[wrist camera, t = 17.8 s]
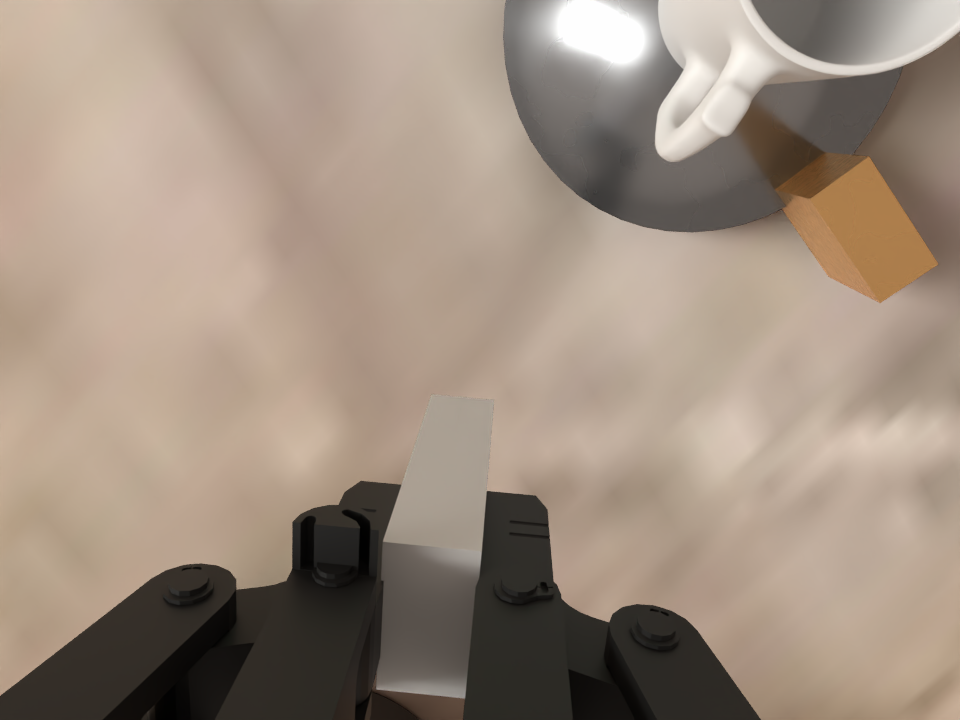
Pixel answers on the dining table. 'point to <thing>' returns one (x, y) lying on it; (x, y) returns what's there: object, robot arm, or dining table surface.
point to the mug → (780, 53)
